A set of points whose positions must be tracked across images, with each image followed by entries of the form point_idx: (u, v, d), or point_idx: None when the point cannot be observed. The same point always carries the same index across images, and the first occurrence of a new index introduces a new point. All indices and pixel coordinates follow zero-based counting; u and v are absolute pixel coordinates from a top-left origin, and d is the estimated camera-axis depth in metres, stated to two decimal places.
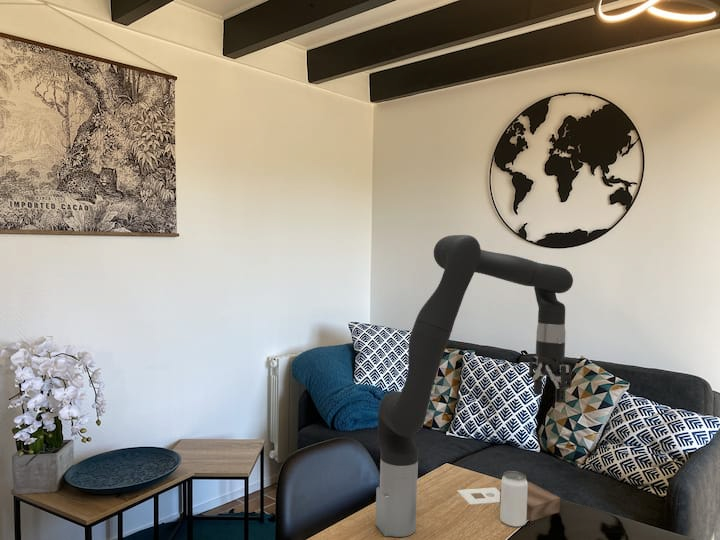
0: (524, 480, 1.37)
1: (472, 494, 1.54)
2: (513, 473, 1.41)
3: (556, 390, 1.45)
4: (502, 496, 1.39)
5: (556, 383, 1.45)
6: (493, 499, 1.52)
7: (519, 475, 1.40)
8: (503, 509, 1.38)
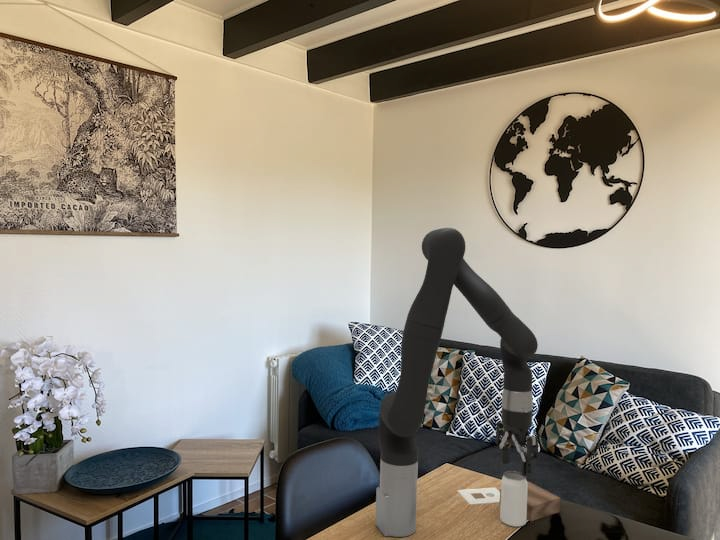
0: (524, 480, 1.37)
1: (472, 494, 1.54)
2: (513, 473, 1.41)
3: (523, 463, 1.35)
4: (502, 496, 1.39)
5: (522, 455, 1.34)
6: (493, 499, 1.52)
7: (519, 475, 1.40)
8: (503, 509, 1.38)
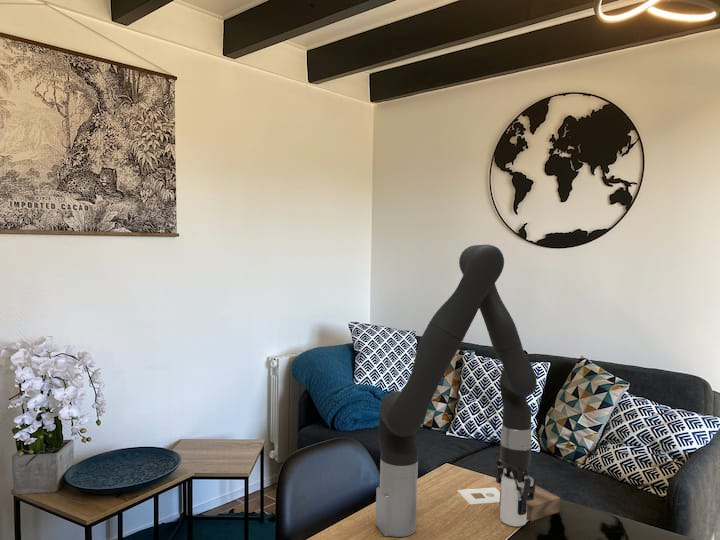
0: None
1: (472, 494, 1.54)
2: None
3: (518, 502, 1.36)
4: (502, 496, 1.39)
5: (518, 494, 1.36)
6: (493, 499, 1.52)
7: None
8: (503, 509, 1.38)
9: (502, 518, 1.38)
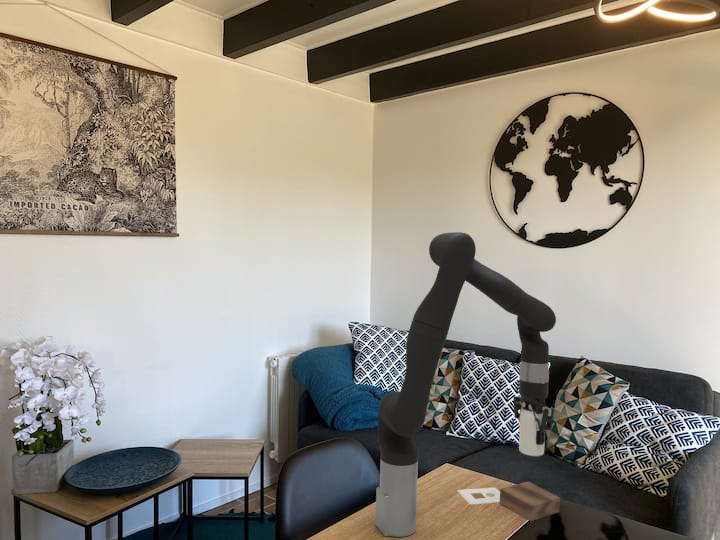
0: None
1: (472, 494, 1.54)
2: None
3: (536, 432, 1.43)
4: (521, 428, 1.46)
5: (537, 425, 1.43)
6: (493, 499, 1.52)
7: None
8: (521, 440, 1.45)
9: (521, 449, 1.46)
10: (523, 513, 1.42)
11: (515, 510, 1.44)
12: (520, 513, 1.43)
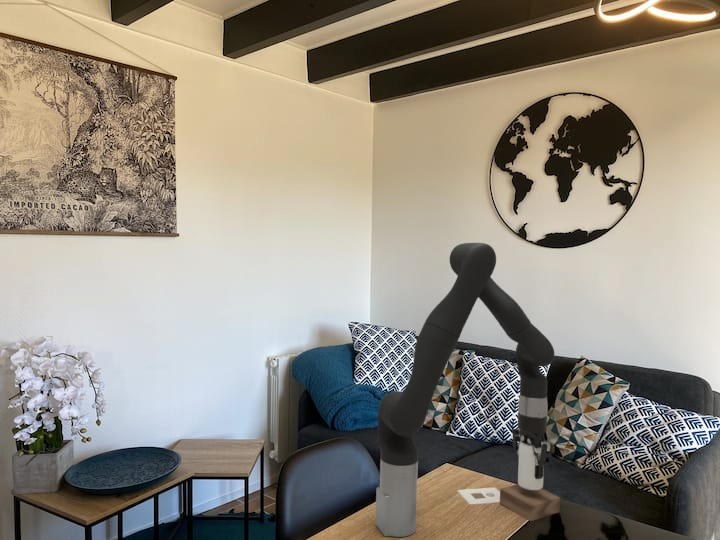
0: None
1: (472, 494, 1.54)
2: None
3: (535, 466, 1.43)
4: (520, 462, 1.46)
5: (535, 459, 1.43)
6: (493, 499, 1.52)
7: None
8: (520, 474, 1.46)
9: (520, 483, 1.46)
10: (523, 513, 1.42)
11: (515, 510, 1.44)
12: (520, 513, 1.43)
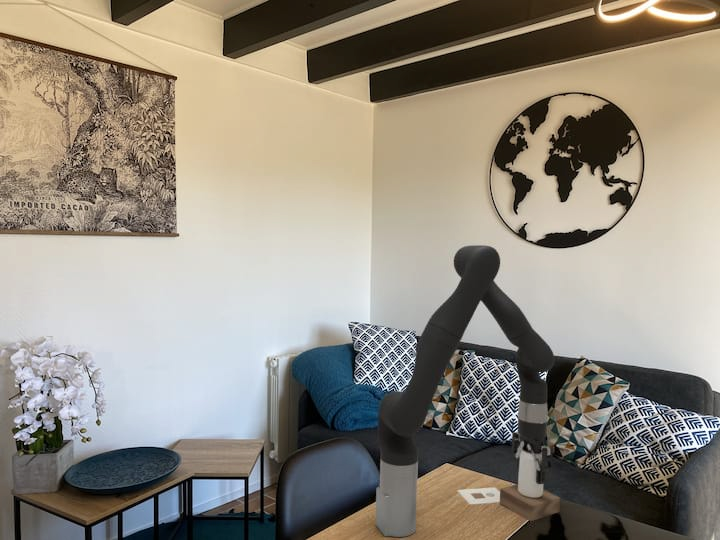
0: None
1: (472, 494, 1.54)
2: None
3: (537, 471, 1.43)
4: (520, 469, 1.46)
5: (537, 464, 1.43)
6: (493, 499, 1.52)
7: None
8: (521, 481, 1.46)
9: (520, 490, 1.46)
10: (523, 513, 1.42)
11: (515, 510, 1.44)
12: (520, 513, 1.43)
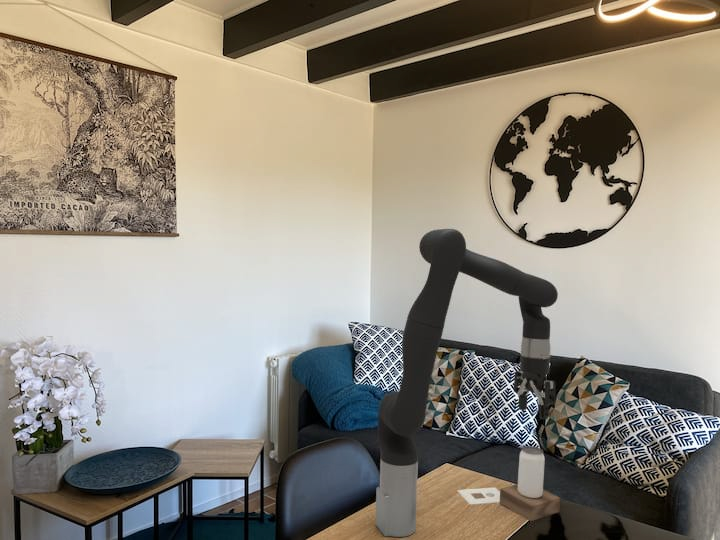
0: (542, 454, 1.44)
1: (472, 494, 1.54)
2: (530, 448, 1.48)
3: (540, 406, 1.42)
4: (520, 469, 1.46)
5: (540, 399, 1.42)
6: (493, 499, 1.52)
7: (536, 449, 1.47)
8: (520, 481, 1.45)
9: (520, 490, 1.46)
10: (523, 513, 1.42)
11: (515, 510, 1.44)
12: (520, 513, 1.43)
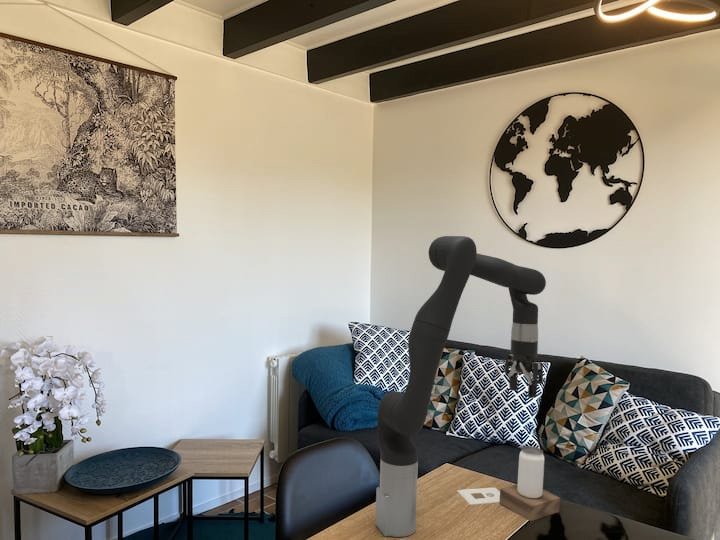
0: (541, 455, 1.44)
1: (472, 494, 1.54)
2: (530, 448, 1.48)
3: (529, 386, 1.54)
4: (520, 470, 1.46)
5: (529, 379, 1.54)
6: (493, 499, 1.52)
7: (536, 450, 1.47)
8: (520, 482, 1.45)
9: (519, 490, 1.46)
10: (523, 513, 1.42)
11: (515, 510, 1.44)
12: (520, 513, 1.43)
